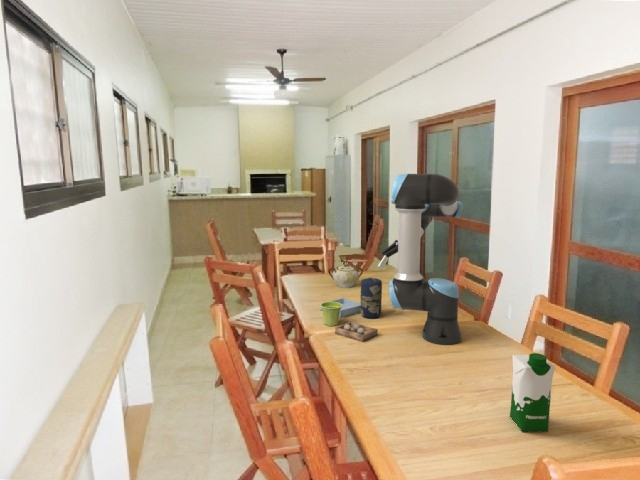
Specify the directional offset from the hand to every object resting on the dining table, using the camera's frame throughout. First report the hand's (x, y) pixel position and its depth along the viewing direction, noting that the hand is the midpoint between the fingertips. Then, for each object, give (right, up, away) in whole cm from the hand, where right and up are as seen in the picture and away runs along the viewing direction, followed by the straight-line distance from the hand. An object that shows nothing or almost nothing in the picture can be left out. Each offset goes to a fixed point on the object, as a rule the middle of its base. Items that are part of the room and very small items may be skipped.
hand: (390, 270), depth 214 cm
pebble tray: (-18, -24, -27) cm, 40 cm away
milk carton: (+23, -35, -92) cm, 101 cm away
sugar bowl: (-18, -12, +49) cm, 53 cm away
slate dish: (-22, -19, +3) cm, 30 cm away
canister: (-9, -21, -4) cm, 23 cm away
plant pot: (-28, -23, -14) cm, 38 cm away
